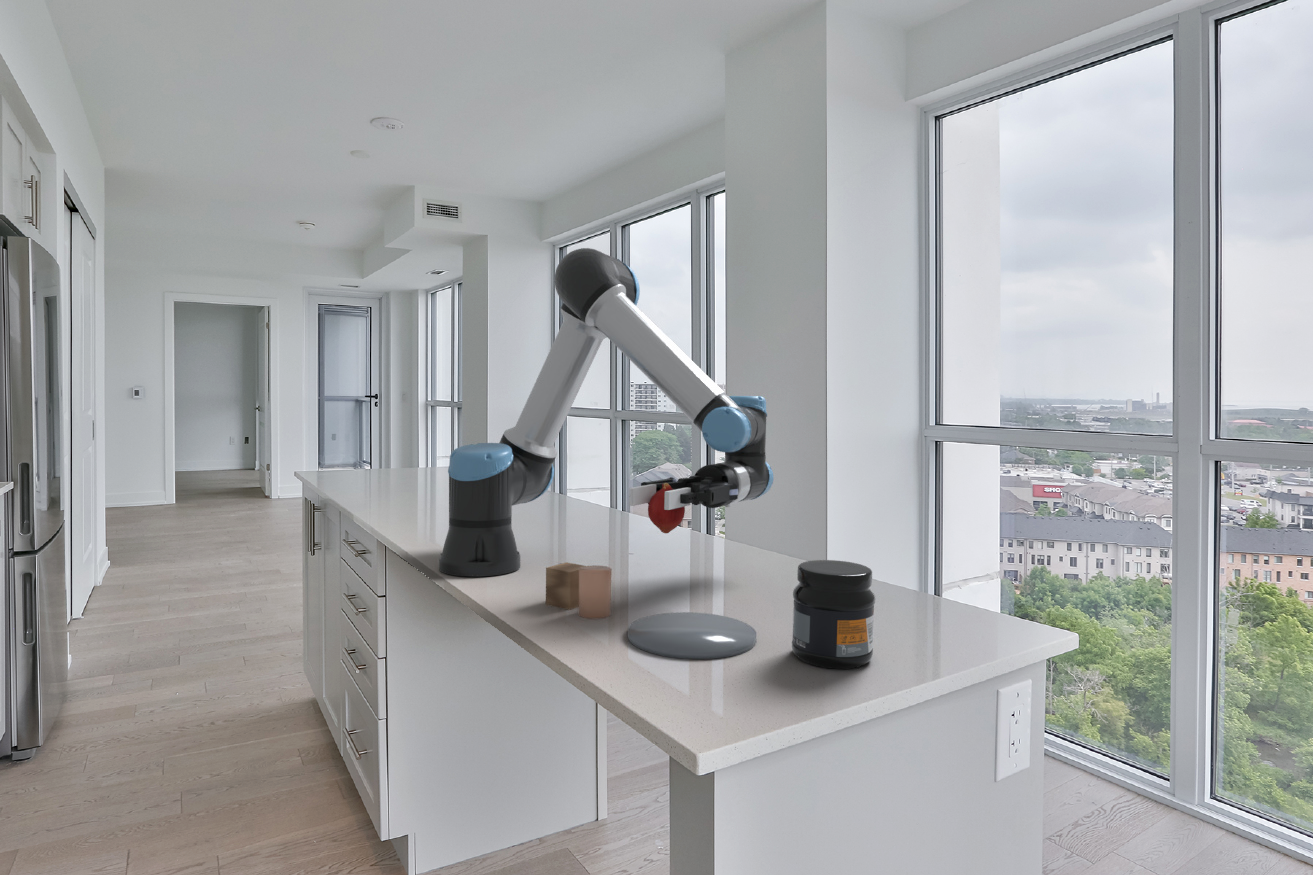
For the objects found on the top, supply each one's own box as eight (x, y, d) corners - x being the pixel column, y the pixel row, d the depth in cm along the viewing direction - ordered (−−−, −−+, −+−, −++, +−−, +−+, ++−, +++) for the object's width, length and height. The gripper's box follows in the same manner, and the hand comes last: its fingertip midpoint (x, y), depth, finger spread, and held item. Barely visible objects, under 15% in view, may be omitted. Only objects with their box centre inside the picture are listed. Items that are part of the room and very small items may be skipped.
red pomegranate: (665, 528, 128) (666, 479, 128) (691, 533, 124) (693, 483, 124) (639, 532, 124) (641, 482, 124) (666, 538, 120) (667, 486, 120)
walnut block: (545, 604, 127) (546, 567, 126) (565, 598, 131) (566, 562, 130) (569, 610, 124) (570, 572, 123) (589, 603, 128) (590, 566, 128)
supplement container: (889, 666, 101) (893, 573, 100) (818, 675, 97) (821, 579, 97) (842, 641, 111) (845, 556, 110) (776, 648, 107) (779, 561, 106)
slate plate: (601, 641, 109) (602, 634, 108) (671, 612, 124) (671, 605, 124) (717, 668, 99) (717, 661, 99) (777, 633, 114) (777, 626, 114)
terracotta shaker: (571, 614, 121) (572, 569, 121) (591, 607, 125) (592, 563, 125) (597, 620, 118) (598, 574, 118) (617, 613, 123) (618, 568, 122)
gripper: (768, 511, 134) (702, 530, 115) (674, 500, 144) (598, 517, 125) (769, 467, 134) (703, 478, 114) (675, 460, 144) (599, 469, 124)
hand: (648, 498), depth 120 cm, fingers closed on red pomegranate, 6 cm apart
